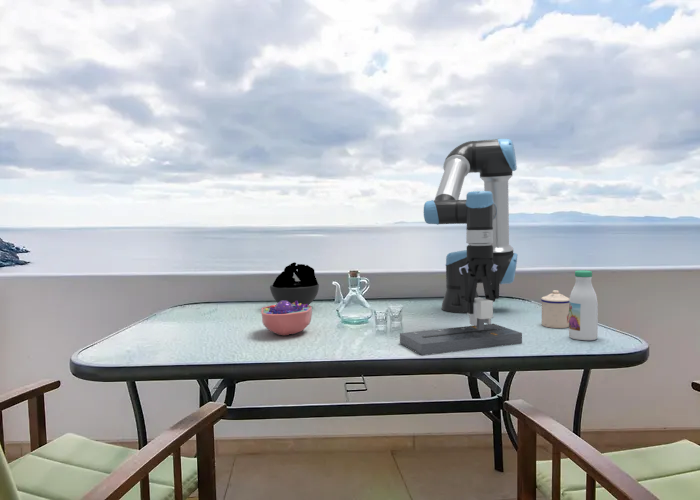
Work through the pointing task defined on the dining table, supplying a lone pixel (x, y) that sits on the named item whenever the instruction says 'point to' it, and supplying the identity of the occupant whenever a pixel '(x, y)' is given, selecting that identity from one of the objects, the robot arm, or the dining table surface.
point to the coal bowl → (295, 285)
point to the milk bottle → (583, 308)
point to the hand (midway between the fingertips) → (480, 323)
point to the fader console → (459, 338)
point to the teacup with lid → (555, 310)
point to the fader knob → (483, 311)
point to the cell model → (286, 317)
